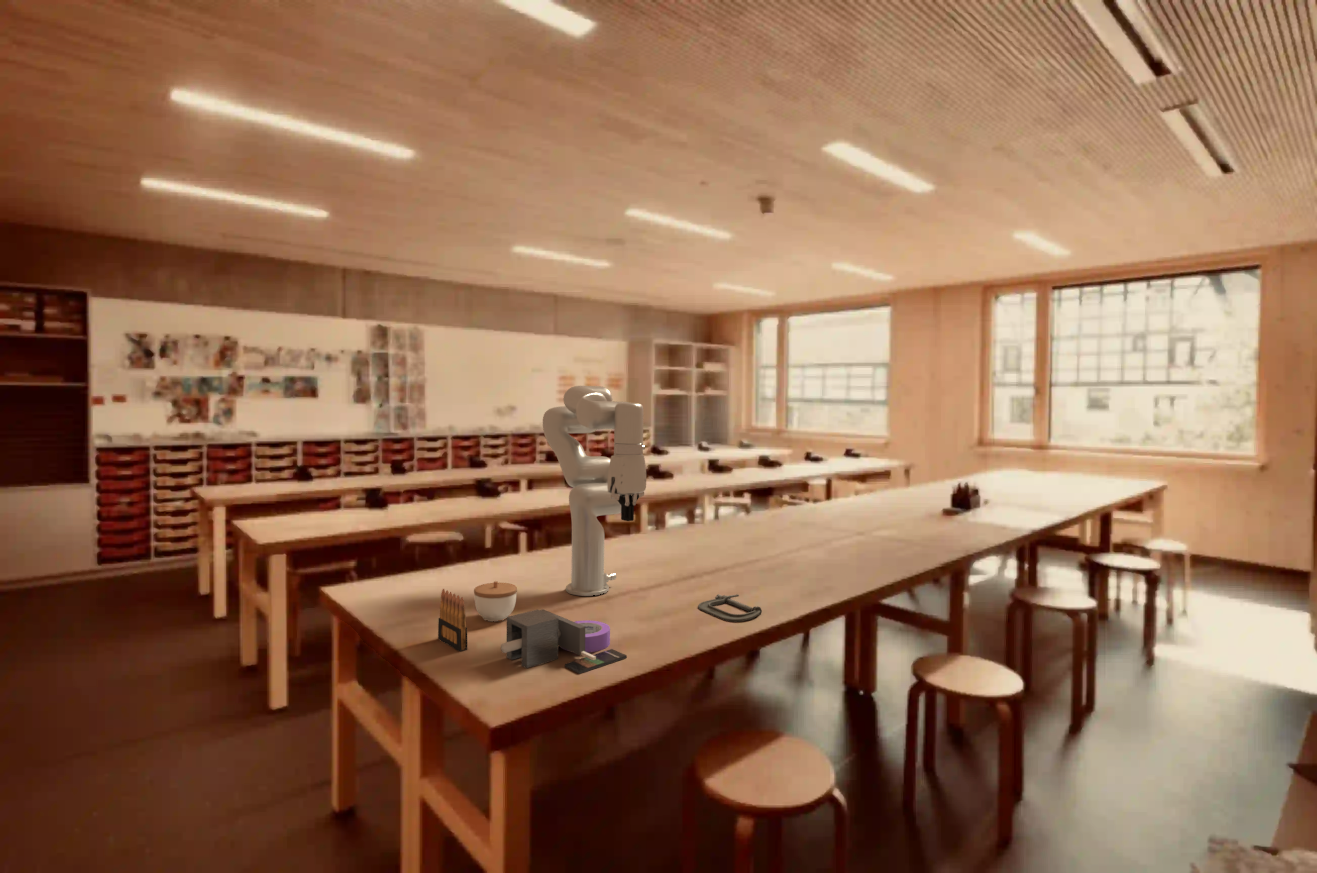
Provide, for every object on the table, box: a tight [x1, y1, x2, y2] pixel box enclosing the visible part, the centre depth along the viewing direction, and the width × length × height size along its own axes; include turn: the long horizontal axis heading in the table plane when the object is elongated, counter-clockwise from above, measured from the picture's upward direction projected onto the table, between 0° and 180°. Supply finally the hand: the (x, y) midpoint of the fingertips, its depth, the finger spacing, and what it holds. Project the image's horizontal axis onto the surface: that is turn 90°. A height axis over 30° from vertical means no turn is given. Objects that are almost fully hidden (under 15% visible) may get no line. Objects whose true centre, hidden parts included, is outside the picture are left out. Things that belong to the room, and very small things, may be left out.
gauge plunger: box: [500, 608, 596, 660], centre depth 146 cm, size 16×20×6 cm
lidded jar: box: [473, 580, 518, 622], centre depth 174 cm, size 11×11×9 cm
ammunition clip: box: [437, 588, 468, 653], centre depth 155 cm, size 11×2×12 cm, turn 44°
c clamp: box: [697, 593, 763, 623], centre depth 185 cm, size 20×17×3 cm
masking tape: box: [560, 619, 611, 654], centre depth 157 cm, size 12×12×4 cm
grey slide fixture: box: [505, 609, 628, 675], centre depth 148 cm, size 20×18×9 cm
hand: (627, 520), depth 177 cm, fingers closed
